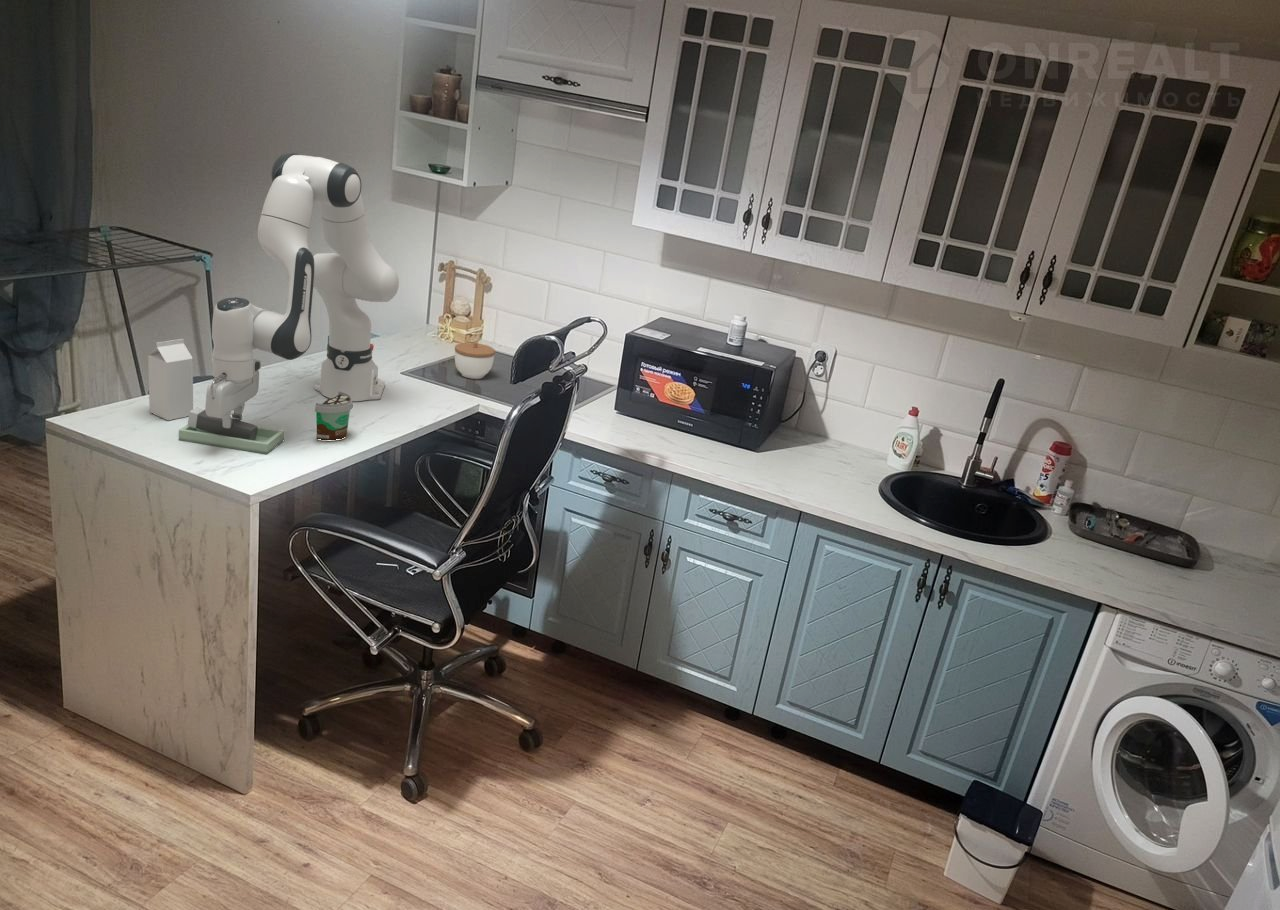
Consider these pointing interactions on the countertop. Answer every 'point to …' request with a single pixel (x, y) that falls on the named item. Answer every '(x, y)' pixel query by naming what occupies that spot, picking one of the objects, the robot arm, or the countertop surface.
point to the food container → (333, 417)
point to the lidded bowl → (473, 359)
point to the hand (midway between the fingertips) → (232, 423)
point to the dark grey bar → (221, 425)
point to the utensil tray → (235, 439)
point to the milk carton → (170, 380)
